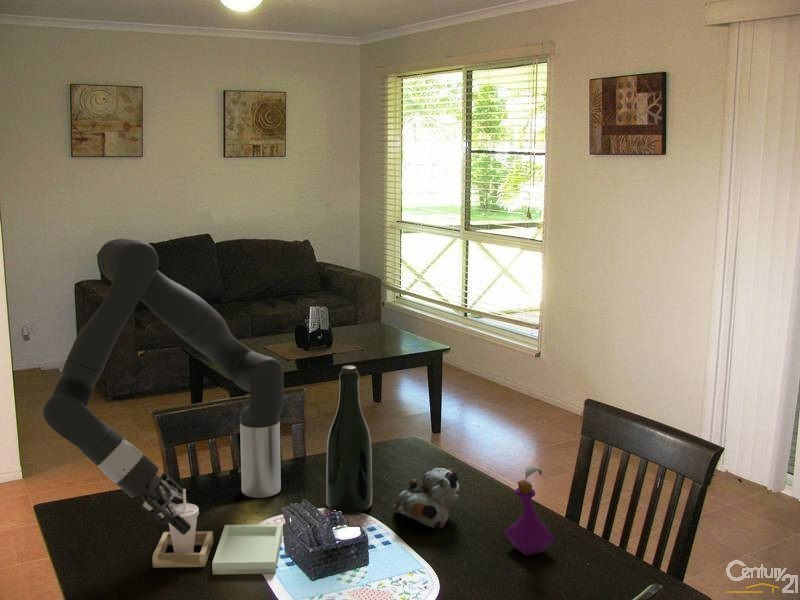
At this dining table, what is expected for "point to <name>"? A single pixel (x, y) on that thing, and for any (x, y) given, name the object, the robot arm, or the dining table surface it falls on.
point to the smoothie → (187, 541)
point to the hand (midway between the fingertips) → (191, 522)
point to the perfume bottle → (529, 521)
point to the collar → (183, 558)
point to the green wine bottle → (349, 451)
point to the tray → (248, 549)
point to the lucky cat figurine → (430, 497)
